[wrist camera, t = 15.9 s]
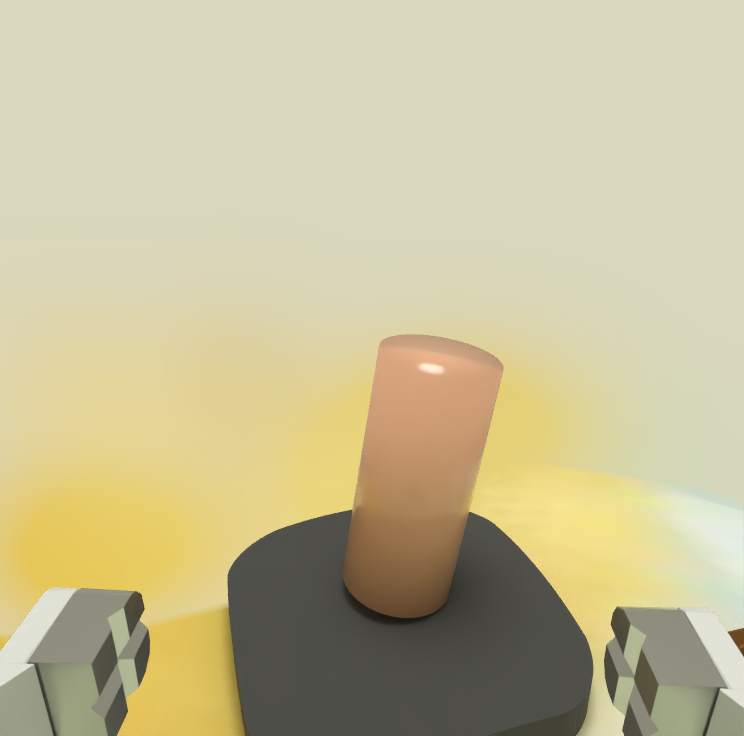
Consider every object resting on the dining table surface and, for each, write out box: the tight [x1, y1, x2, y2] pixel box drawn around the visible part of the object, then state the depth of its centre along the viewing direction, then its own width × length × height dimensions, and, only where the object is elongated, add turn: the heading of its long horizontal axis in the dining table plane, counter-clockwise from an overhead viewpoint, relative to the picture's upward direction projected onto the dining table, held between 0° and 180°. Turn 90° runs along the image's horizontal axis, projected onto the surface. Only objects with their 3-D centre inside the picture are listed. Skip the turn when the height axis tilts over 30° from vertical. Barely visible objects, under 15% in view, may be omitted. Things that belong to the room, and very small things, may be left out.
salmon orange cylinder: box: [343, 335, 503, 618], centre depth 26 cm, size 5×5×11 cm
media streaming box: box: [228, 510, 593, 736], centre depth 28 cm, size 15×15×3 cm
